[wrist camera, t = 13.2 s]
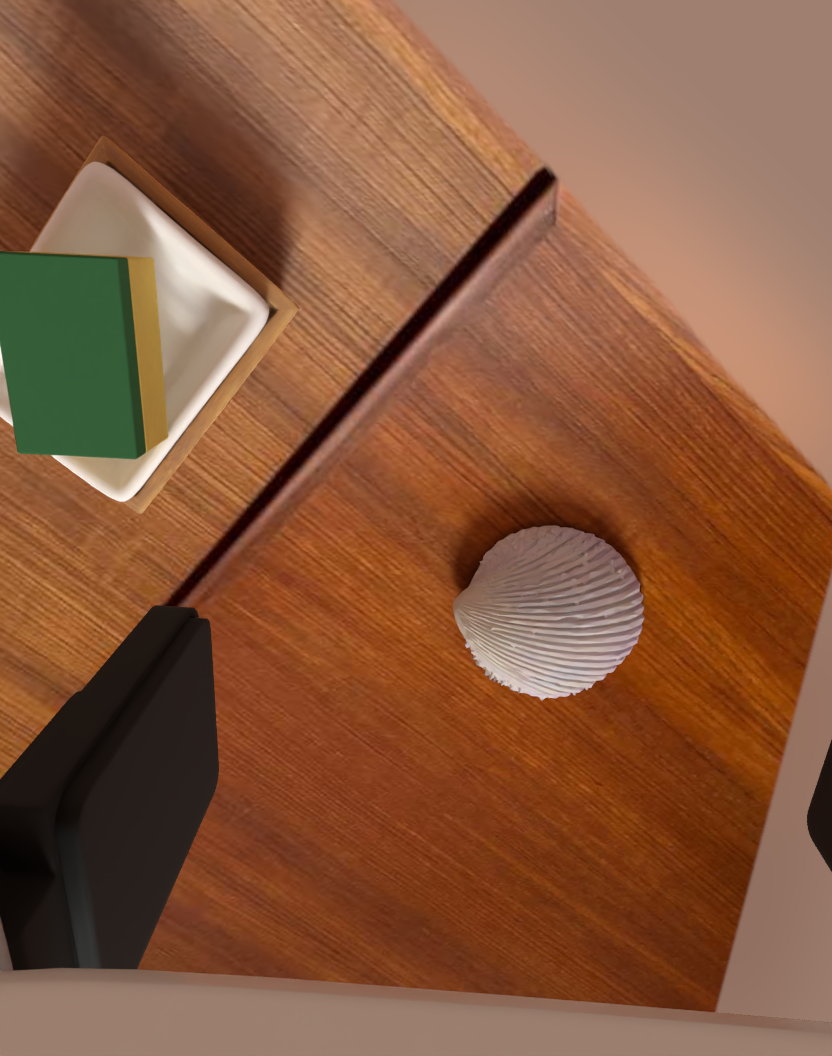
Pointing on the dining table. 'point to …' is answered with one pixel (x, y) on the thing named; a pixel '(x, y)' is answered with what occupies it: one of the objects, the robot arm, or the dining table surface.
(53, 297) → the scrub sponge
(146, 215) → the soap dish
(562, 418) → the dining table surface
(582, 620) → the seashell
